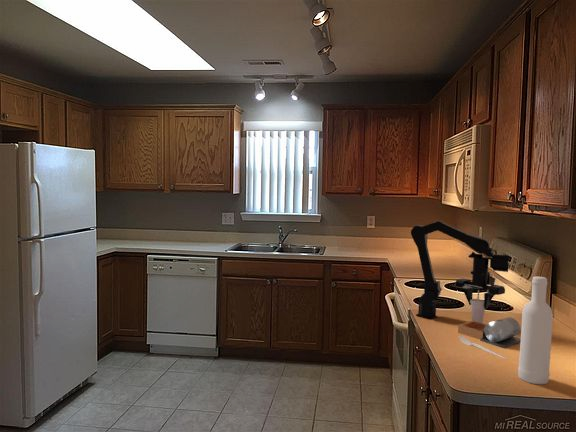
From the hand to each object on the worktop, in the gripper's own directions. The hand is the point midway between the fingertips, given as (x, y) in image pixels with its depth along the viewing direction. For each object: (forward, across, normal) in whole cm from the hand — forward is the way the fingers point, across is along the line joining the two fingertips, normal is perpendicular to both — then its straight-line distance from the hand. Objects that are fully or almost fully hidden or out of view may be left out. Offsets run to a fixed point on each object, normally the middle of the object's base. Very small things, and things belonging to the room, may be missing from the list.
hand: (478, 307), depth 186 cm
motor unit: (+7, -11, +12) cm, 18 cm away
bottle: (+7, -39, +37) cm, 54 cm away
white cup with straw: (+7, 0, 0) cm, 7 cm away
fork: (+8, -17, +26) cm, 32 cm away
